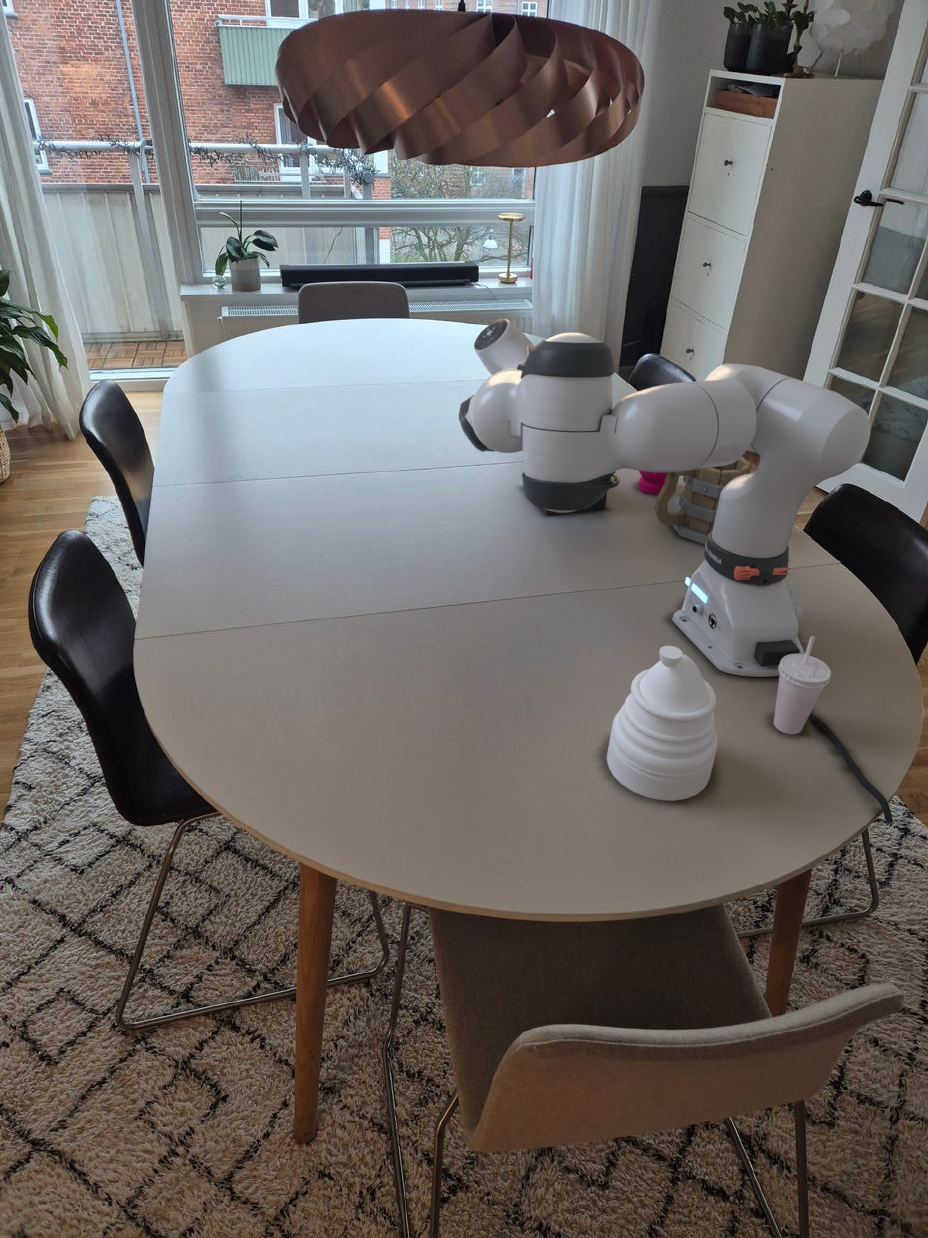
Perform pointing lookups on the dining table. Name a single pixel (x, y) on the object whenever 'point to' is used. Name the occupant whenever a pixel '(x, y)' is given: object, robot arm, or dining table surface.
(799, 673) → the smoothie
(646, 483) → the pepper mill
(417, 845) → the dining table surface
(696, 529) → the tankard
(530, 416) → the robot arm
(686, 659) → the honey pot
